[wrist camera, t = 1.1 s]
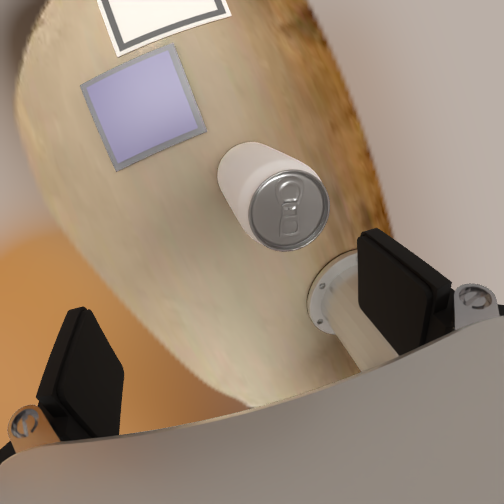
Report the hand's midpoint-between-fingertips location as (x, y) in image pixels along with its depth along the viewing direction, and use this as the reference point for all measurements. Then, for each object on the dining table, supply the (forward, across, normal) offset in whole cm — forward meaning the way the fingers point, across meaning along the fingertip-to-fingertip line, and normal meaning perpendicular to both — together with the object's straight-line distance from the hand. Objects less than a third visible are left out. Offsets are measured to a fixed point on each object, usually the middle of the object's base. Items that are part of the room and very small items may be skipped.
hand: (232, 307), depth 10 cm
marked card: (+22, 0, -19) cm, 29 cm away
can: (+22, -5, +1) cm, 23 cm away
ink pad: (+22, +3, -8) cm, 23 cm away
